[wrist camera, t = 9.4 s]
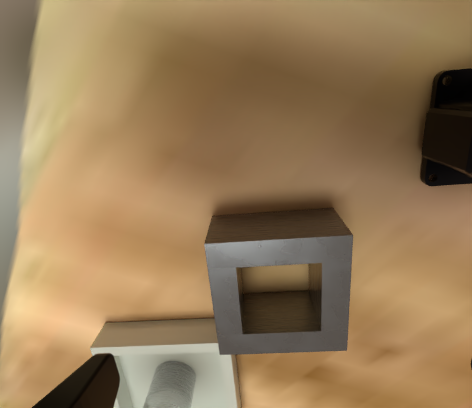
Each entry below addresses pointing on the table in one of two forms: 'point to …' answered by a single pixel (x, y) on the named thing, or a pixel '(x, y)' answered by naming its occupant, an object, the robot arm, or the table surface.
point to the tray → (170, 359)
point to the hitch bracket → (280, 303)
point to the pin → (171, 386)
